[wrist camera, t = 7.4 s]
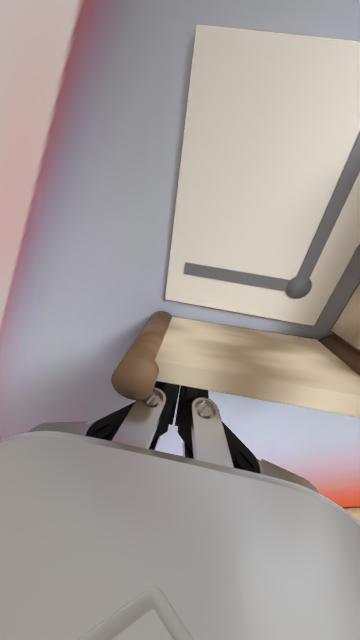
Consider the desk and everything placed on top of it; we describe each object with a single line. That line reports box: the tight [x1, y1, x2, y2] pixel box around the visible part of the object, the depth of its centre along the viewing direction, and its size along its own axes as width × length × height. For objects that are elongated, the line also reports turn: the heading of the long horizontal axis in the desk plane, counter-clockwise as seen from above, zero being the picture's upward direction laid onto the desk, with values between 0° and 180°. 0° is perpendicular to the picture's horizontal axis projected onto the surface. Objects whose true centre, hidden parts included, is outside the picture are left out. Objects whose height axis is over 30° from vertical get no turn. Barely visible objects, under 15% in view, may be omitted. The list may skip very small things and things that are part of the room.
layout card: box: [165, 24, 360, 326], centre depth 9 cm, size 12×10×1 cm
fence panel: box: [111, 311, 360, 417], centre depth 9 cm, size 12×2×6 cm, turn 83°
